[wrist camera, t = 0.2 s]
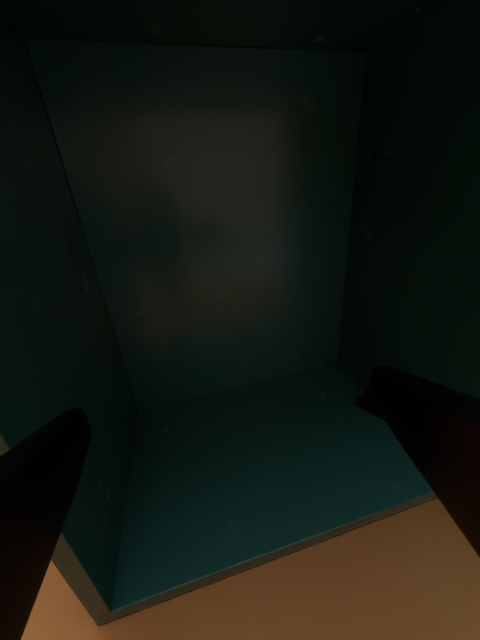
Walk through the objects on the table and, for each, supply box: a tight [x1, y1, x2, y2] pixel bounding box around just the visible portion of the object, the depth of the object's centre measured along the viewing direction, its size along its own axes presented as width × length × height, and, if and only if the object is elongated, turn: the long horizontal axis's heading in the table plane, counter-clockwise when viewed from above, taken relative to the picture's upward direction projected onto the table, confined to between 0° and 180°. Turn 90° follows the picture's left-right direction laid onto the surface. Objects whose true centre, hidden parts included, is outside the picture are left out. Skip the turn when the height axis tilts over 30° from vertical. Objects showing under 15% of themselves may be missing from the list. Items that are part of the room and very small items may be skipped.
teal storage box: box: [0, 0, 480, 626], centre depth 19 cm, size 18×28×34 cm, turn 105°
